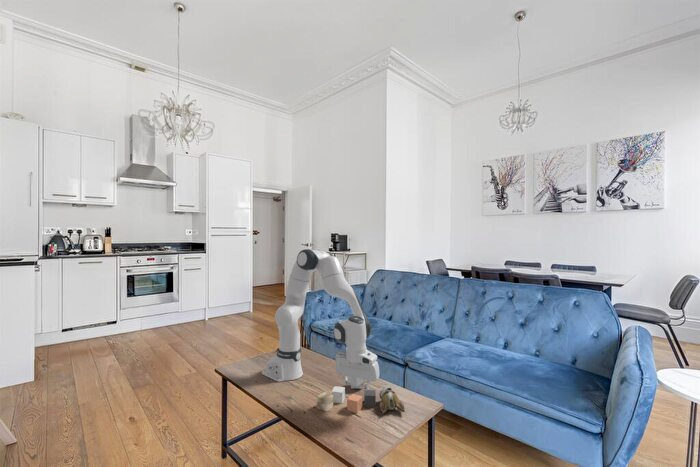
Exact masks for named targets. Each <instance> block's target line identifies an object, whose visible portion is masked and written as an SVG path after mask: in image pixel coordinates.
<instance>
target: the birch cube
mask: <svg viewBox="0 0 700 467" xmlns="http://www.w3.org/2000/svg"><path fill="white" fill-rule="evenodd" d="M316 406H317V409H319V410H322V411H323V412H328V411H329V410H331V409H332V408H333V407H334V402H333V395H332V393H328V392H326V391H324V392H323V393H321V394H319V395H318V396H317V397H316Z"/></svg>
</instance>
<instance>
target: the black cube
mask: <svg viewBox="0 0 700 467" xmlns="http://www.w3.org/2000/svg"><path fill="white" fill-rule="evenodd" d="M363 392H364V393H363V394H364V395H363V398H364V399H363V400H364V401H363V403H364V406H363V407H365V408H376V405H377V404H376V399H377V398H376V397H377V396H376V390H373V389H368V390H366V389H364V390H363Z"/></svg>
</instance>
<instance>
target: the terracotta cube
mask: <svg viewBox="0 0 700 467" xmlns="http://www.w3.org/2000/svg"><path fill="white" fill-rule="evenodd" d="M363 398H364V396H362V395H358V394H355V393H351V395H349V397H348V398H346V411H348V412H352V413H355V414H359V412H361V411H362V409H363V407H364V406H363V403H364V401H363V400H364V399H363Z"/></svg>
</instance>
